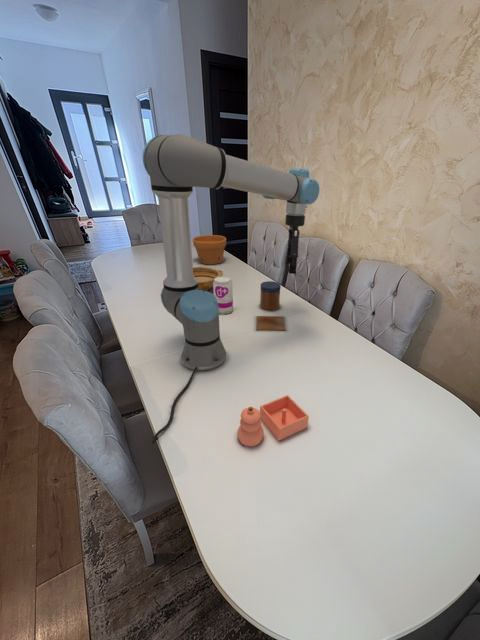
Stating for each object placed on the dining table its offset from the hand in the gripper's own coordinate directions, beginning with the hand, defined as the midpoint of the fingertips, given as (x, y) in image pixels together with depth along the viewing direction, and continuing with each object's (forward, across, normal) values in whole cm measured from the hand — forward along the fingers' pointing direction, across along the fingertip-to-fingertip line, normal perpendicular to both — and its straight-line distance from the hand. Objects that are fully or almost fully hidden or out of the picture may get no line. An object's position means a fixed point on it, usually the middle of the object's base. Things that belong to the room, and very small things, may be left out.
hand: (290, 268), depth 131 cm
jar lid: (+10, +4, +8) cm, 13 cm away
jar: (+20, +4, +8) cm, 22 cm away
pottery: (+21, -72, +10) cm, 75 cm away
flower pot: (+21, +73, +46) cm, 88 cm away
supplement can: (+21, -1, +29) cm, 36 cm away
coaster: (+20, -13, +8) cm, 25 cm away
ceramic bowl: (+21, +25, +45) cm, 56 cm away
